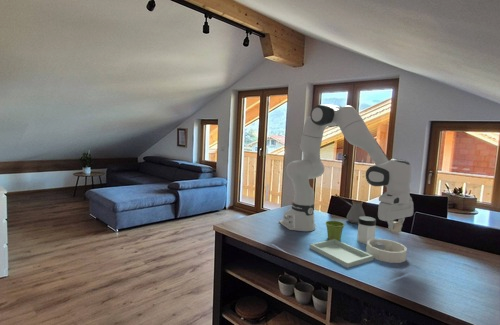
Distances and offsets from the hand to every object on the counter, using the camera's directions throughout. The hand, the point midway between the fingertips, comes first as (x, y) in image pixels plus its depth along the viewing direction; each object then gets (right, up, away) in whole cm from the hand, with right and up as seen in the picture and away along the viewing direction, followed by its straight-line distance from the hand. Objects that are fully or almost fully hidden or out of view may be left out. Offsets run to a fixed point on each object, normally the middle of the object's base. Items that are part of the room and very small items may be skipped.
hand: (395, 228), depth 126 cm
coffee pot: (-1, -8, +58) cm, 59 cm away
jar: (-4, -12, +22) cm, 25 cm away
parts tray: (-23, -13, +4) cm, 26 cm away
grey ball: (-4, -12, +7) cm, 15 cm away
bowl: (-2, -14, +4) cm, 14 cm away
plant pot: (-20, -11, +23) cm, 32 cm away
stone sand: (0, -1, 0) cm, 1 cm away
